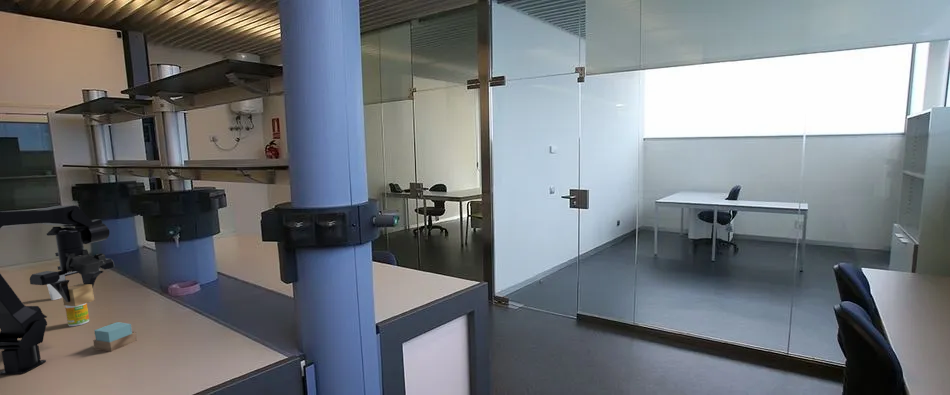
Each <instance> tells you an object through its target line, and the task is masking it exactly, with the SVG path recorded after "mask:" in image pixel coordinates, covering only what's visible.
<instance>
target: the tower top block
mask: <svg viewBox="0 0 950 395" xmlns="http://www.w3.org/2000/svg"><path fill="white" fill-rule="evenodd" d="M93 331H94V337H95V340H98V341H104V342H112V341H115V340H117V339H120V338H122V337H125V336H128V335H130V334H132V332H133V330H132V324H131V323H126V322H119V321H117V322H114V323H111V324H108V325H105V326H103V327H100V328H97V329H94V330H93Z"/></svg>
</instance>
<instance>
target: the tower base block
mask: <svg viewBox="0 0 950 395" xmlns="http://www.w3.org/2000/svg"><path fill="white" fill-rule="evenodd" d="M137 341H138V340H137V332H135V331H134V332H133V331H132V334H130V335H128V336H125V337H122V338H120V339H117V340H115V341H112V342H104V341H98V340H96V339H94V340H93V348H94V350H98V351H99V350H100V351H106V352H115V351H116V350H119V349H121V348H123V347H125V346H129V345H130V344H133V343H136V342H137Z"/></svg>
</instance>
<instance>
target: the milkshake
mask: <svg viewBox="0 0 950 395" xmlns="http://www.w3.org/2000/svg"><path fill="white" fill-rule="evenodd" d="M46 286H47V289H48V293H49V297H50V300H51V301H55V300H59V299H63V297H62V296H61V295H60V294H59V292H58V291H57V290H56V289H55V288H54V287H53V286H51V285H50V284H47V285H46Z"/></svg>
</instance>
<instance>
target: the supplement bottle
mask: <svg viewBox="0 0 950 395" xmlns="http://www.w3.org/2000/svg"><path fill="white" fill-rule="evenodd" d="M64 307H65V313H66V319H67V320H66V321H67V325H68V326H69V327H77V326H81V325H86V324H87V323H89V322H90V314H89V309H88V303H85V304H82V305H79V306H65V305H64Z"/></svg>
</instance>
